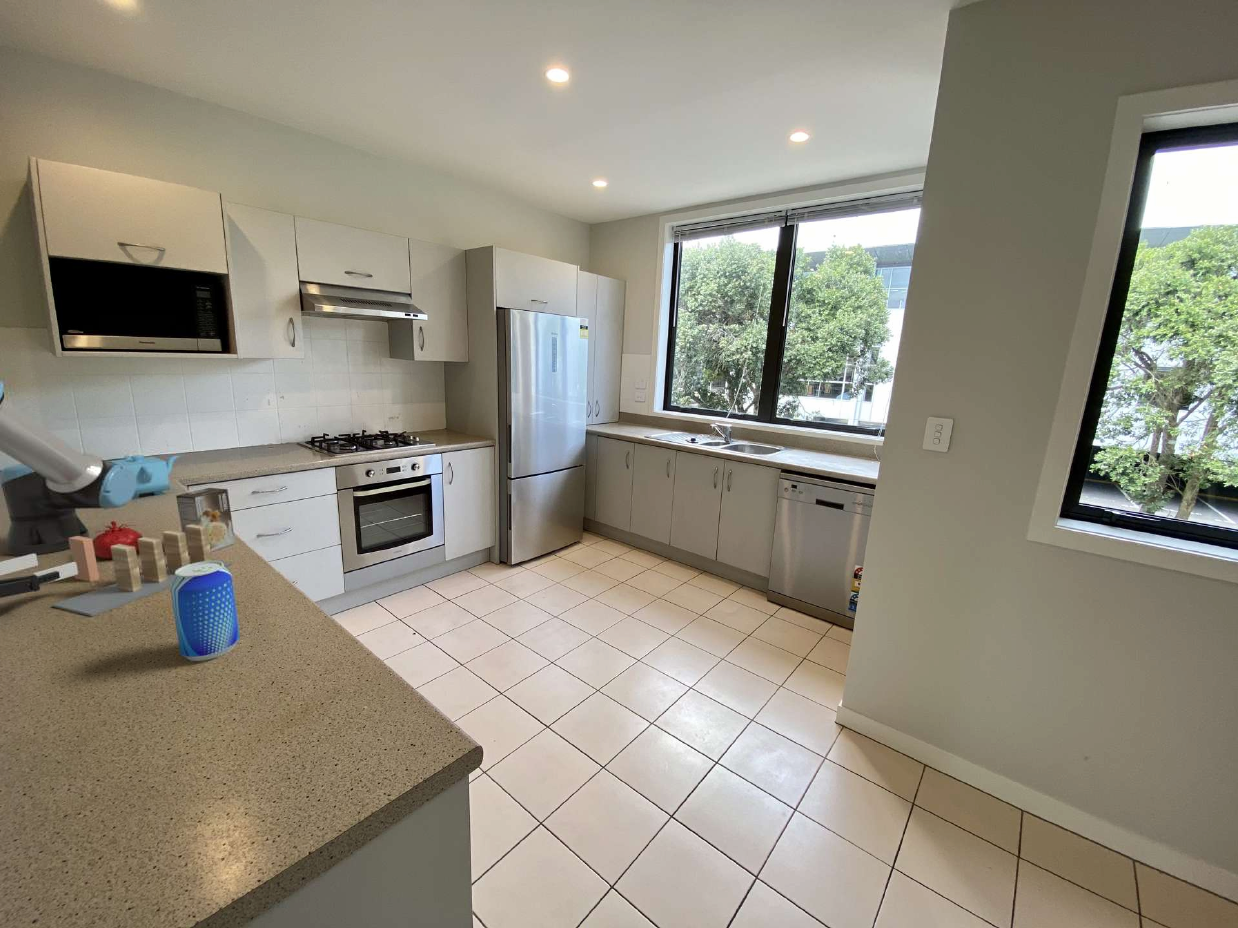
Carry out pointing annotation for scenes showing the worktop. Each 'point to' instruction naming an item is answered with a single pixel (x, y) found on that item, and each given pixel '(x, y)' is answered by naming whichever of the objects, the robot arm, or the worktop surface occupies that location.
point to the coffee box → (208, 515)
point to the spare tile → (84, 558)
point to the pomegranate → (115, 540)
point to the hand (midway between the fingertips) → (56, 563)
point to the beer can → (204, 610)
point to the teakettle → (148, 473)
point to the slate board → (115, 596)
